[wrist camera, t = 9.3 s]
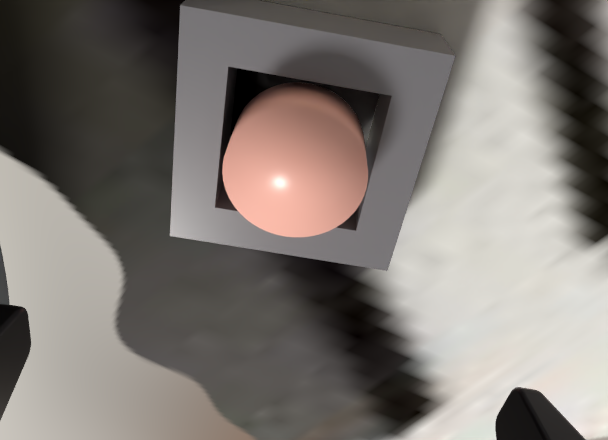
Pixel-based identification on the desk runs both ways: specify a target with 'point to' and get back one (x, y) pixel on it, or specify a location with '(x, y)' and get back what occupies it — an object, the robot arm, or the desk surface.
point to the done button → (296, 161)
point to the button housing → (311, 67)
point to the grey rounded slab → (3, 282)
